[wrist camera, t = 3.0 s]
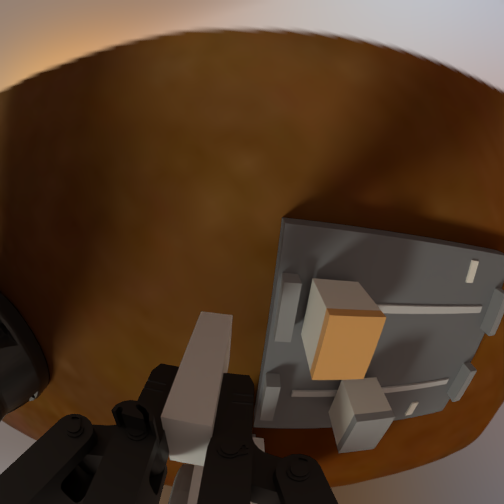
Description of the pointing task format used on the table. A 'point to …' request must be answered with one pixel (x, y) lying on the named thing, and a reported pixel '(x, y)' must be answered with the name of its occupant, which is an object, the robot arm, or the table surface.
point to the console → (394, 308)
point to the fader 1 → (340, 330)
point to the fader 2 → (359, 414)
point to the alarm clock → (194, 480)
